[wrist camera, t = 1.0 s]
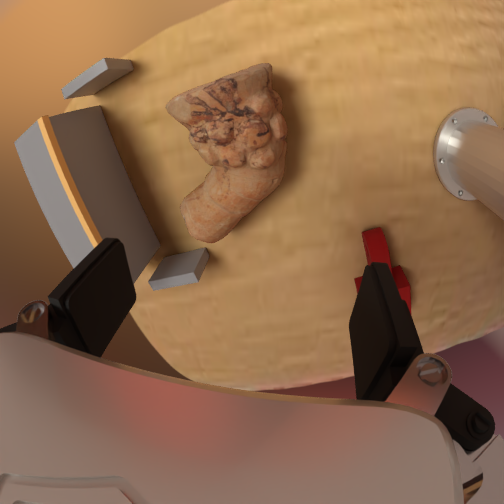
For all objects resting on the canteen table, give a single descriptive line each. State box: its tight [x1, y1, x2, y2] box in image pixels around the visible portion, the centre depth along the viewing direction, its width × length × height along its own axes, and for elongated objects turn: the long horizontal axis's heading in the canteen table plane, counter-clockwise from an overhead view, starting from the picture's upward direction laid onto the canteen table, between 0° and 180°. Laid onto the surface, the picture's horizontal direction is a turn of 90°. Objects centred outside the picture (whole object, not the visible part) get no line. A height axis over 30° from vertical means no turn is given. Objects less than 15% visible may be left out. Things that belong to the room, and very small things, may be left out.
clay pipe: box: [165, 63, 288, 243], centre depth 29 cm, size 19×11×15 cm
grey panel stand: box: [15, 58, 209, 291], centre depth 30 cm, size 12×29×12 cm, turn 18°
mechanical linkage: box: [354, 227, 411, 314], centre depth 37 cm, size 16×7×5 cm, turn 22°
